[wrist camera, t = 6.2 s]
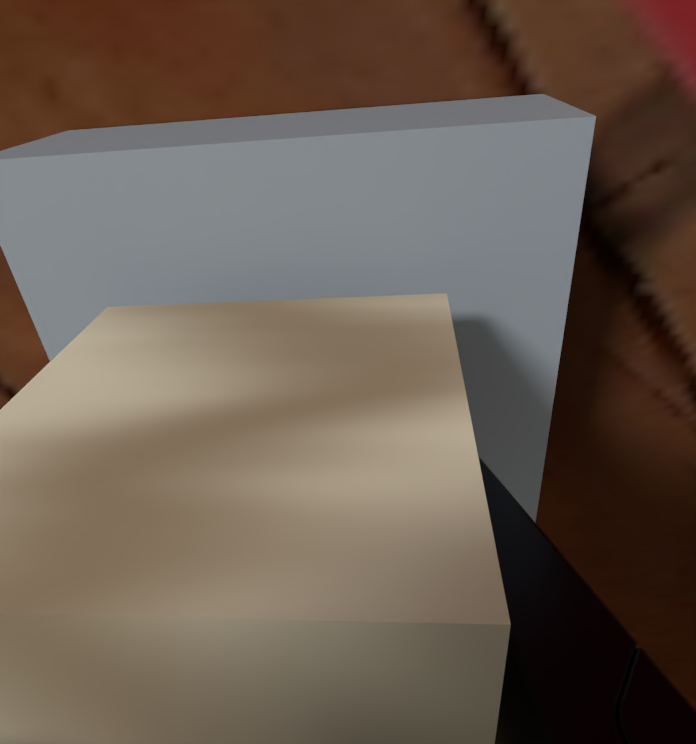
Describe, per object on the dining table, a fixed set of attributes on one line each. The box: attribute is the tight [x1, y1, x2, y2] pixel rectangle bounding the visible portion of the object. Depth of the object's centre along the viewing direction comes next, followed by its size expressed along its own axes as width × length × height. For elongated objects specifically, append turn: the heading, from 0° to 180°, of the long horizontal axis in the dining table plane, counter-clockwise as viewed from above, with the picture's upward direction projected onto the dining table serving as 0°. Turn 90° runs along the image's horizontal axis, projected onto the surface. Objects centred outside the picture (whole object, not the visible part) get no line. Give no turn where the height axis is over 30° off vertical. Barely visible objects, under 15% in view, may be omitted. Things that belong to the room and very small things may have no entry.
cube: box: [0, 293, 511, 744], centre depth 7 cm, size 5×5×5 cm
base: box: [0, 94, 596, 523], centre depth 11 cm, size 9×9×3 cm
